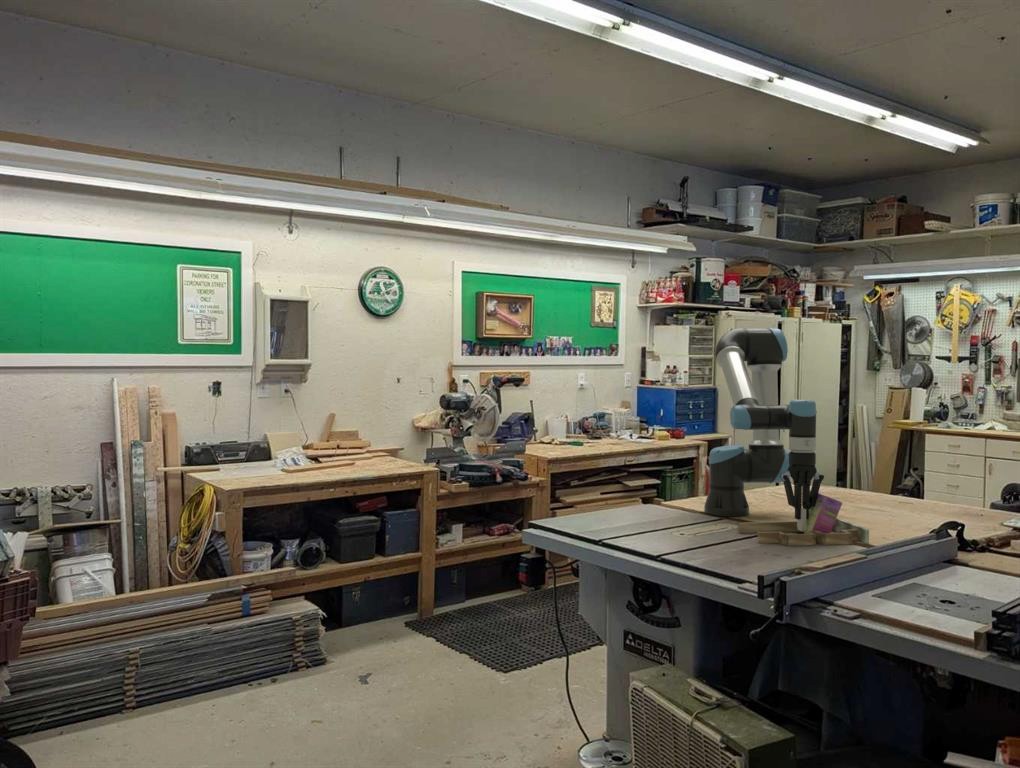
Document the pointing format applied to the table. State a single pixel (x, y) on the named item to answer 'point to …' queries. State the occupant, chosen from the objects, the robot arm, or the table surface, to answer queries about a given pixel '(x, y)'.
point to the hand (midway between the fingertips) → (801, 530)
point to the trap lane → (774, 533)
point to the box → (823, 514)
